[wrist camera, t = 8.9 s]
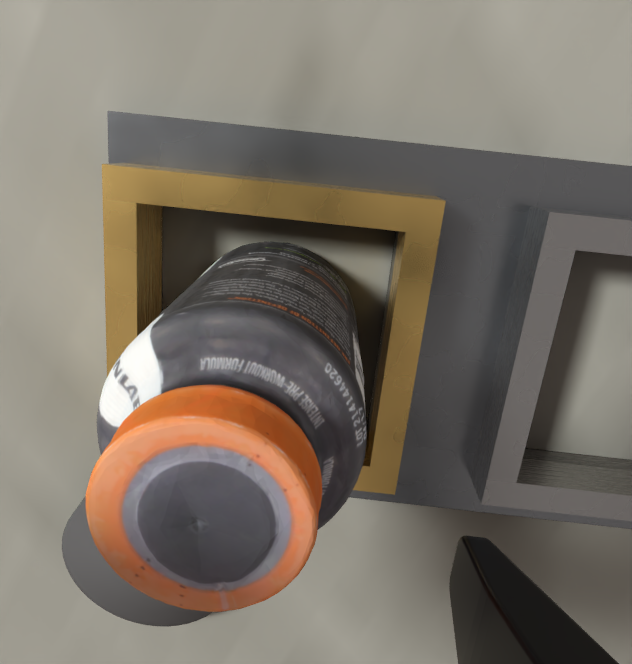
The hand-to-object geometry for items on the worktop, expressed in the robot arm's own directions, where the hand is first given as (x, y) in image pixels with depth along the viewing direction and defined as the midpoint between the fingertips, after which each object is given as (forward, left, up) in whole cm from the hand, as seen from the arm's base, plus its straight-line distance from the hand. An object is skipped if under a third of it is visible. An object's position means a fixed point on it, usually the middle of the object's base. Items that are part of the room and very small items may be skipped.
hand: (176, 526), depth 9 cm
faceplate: (0, -7, -12) cm, 13 cm away
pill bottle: (0, 0, -12) cm, 12 cm away
